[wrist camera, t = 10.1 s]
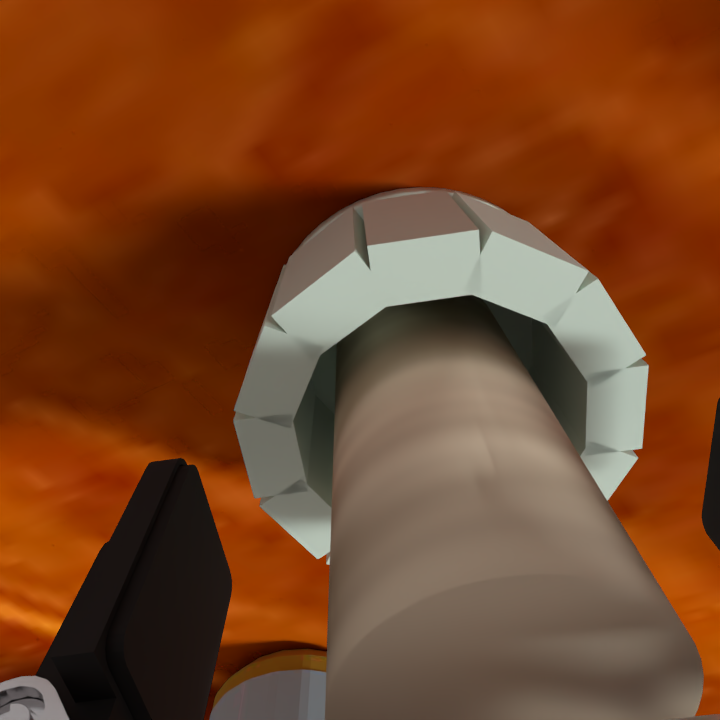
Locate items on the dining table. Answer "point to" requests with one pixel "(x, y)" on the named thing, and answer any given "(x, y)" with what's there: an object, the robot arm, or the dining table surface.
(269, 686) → the bottle
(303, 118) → the dining table surface
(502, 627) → the plug
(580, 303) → the cup
